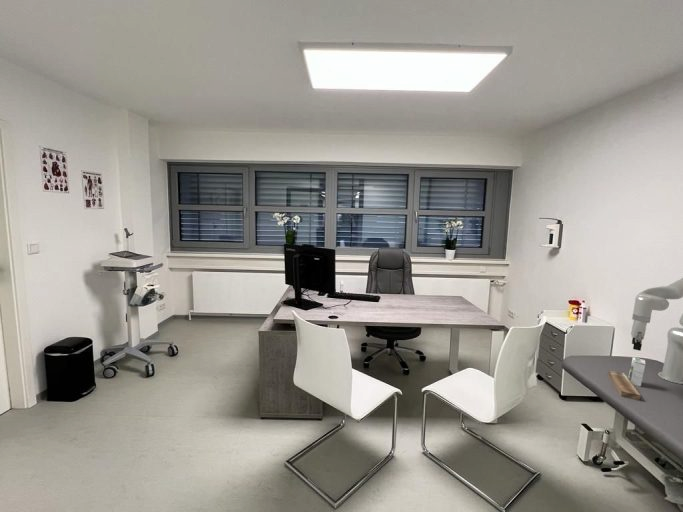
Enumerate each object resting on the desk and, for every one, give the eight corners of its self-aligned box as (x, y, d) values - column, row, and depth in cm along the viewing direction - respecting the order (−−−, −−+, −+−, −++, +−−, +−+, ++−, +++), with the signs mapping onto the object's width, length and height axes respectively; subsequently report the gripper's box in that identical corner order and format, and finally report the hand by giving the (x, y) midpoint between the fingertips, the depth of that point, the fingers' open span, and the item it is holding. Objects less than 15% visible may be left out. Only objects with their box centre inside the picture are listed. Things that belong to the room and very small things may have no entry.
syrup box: (627, 379, 199) (632, 356, 197) (640, 383, 195) (645, 359, 193) (627, 383, 195) (632, 359, 192) (641, 387, 191) (646, 363, 189)
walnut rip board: (624, 378, 200) (625, 373, 200) (639, 400, 177) (641, 395, 176) (607, 375, 203) (608, 370, 203) (620, 396, 180) (621, 390, 180)
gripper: (631, 313, 197) (626, 340, 199) (633, 320, 183) (628, 350, 186) (648, 315, 192) (643, 344, 195) (652, 323, 179) (646, 354, 181)
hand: (636, 347), depth 190 cm, fingers open, 9 cm apart
